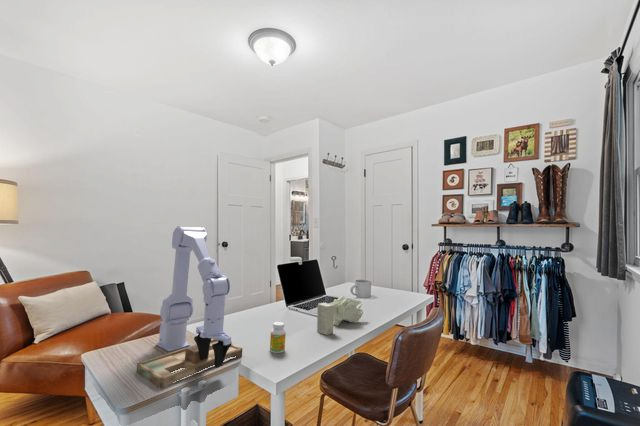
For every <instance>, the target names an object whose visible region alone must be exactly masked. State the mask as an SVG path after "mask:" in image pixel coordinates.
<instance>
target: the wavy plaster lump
mask: <svg viewBox="0 0 640 426" xmlns="http://www.w3.org/2000/svg"><path fill="white" fill-rule="evenodd" d="M331 304H332V305H334V319H333V325H334V326H336V327H337V326H340V324H341V322H342V321H344V322H345V321H347V322H349V323H354V324H357V323H359V321H360V319H361V318H362V317H363V314H364V311H363V309H361V307H362V305H363V302H362V301H361V300H354V299H352V298H350V297H347V298H346V297H345V296H343V295H341V296H339V297H338V298H337V299H336V298H334V300H333V302H332V303H331Z"/></svg>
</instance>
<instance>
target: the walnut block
mask: <svg viewBox="0 0 640 426" xmlns="http://www.w3.org/2000/svg"><path fill="white" fill-rule="evenodd" d="M185 348H186V351H185V360H187V361H189V362H191V363H193V364H196V363H198V362H201V361H204V360H206V359H204V360H200V356H199V351H198V347H197V344H194V346H193V345H190V346H186V347H185ZM208 358H209V353H208V357H207V359H208Z"/></svg>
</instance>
